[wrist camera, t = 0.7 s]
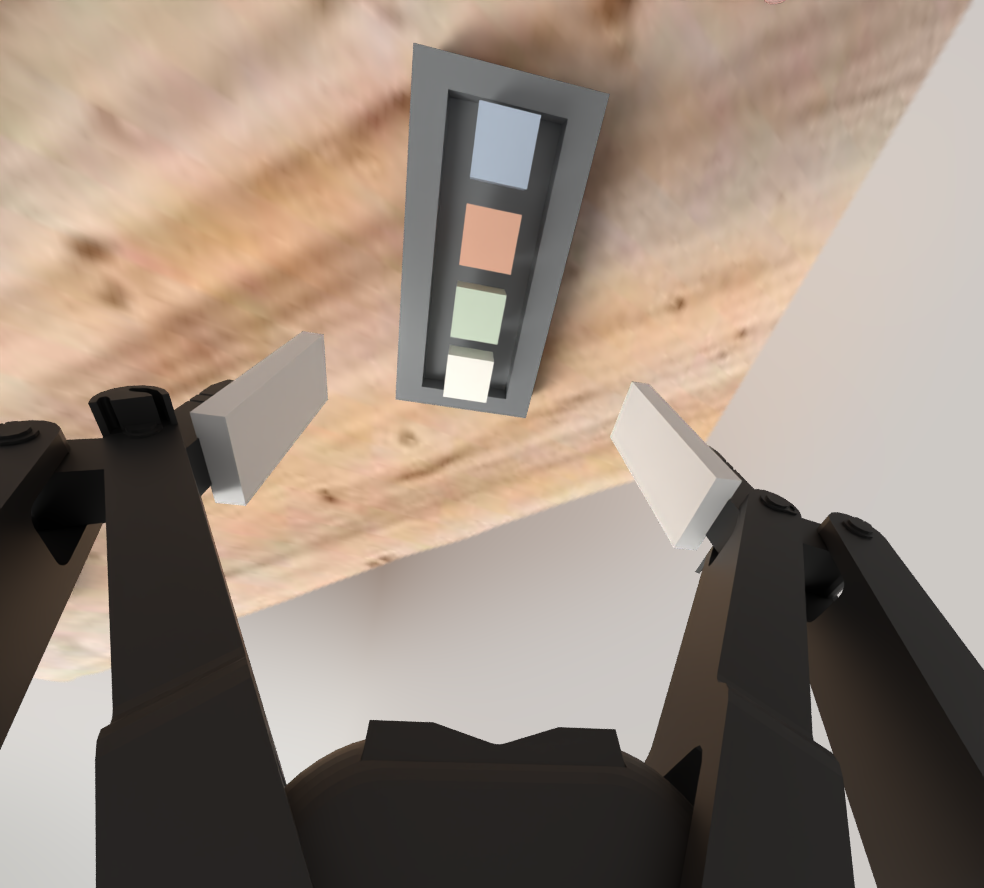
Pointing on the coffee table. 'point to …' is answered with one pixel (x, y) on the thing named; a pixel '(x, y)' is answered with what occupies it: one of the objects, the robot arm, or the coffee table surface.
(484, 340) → the key
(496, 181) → the key
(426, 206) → the gray rectangular tray
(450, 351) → the key
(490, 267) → the key
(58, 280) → the coffee table surface
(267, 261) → the coffee table surface
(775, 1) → the mug
